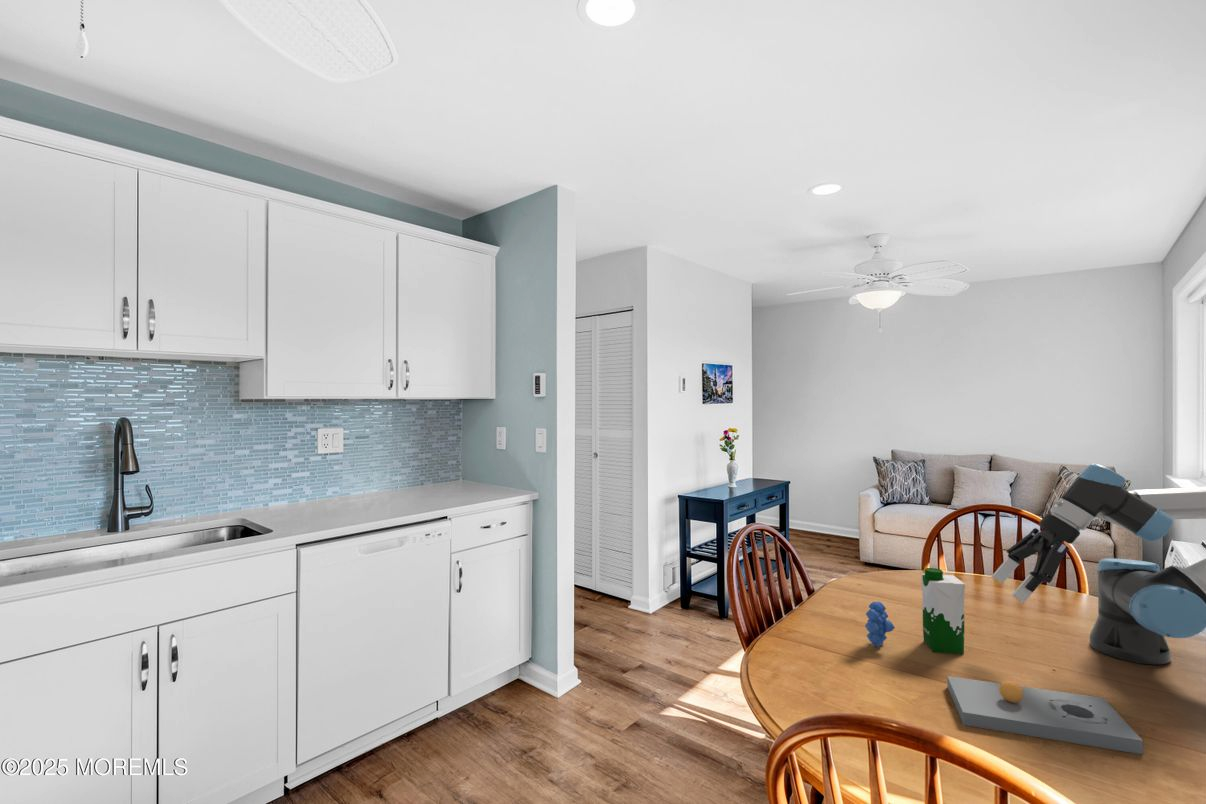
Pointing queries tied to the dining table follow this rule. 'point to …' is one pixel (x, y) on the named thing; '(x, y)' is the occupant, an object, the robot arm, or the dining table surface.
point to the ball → (1011, 691)
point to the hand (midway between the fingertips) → (1006, 589)
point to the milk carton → (943, 612)
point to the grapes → (878, 624)
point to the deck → (1043, 715)
